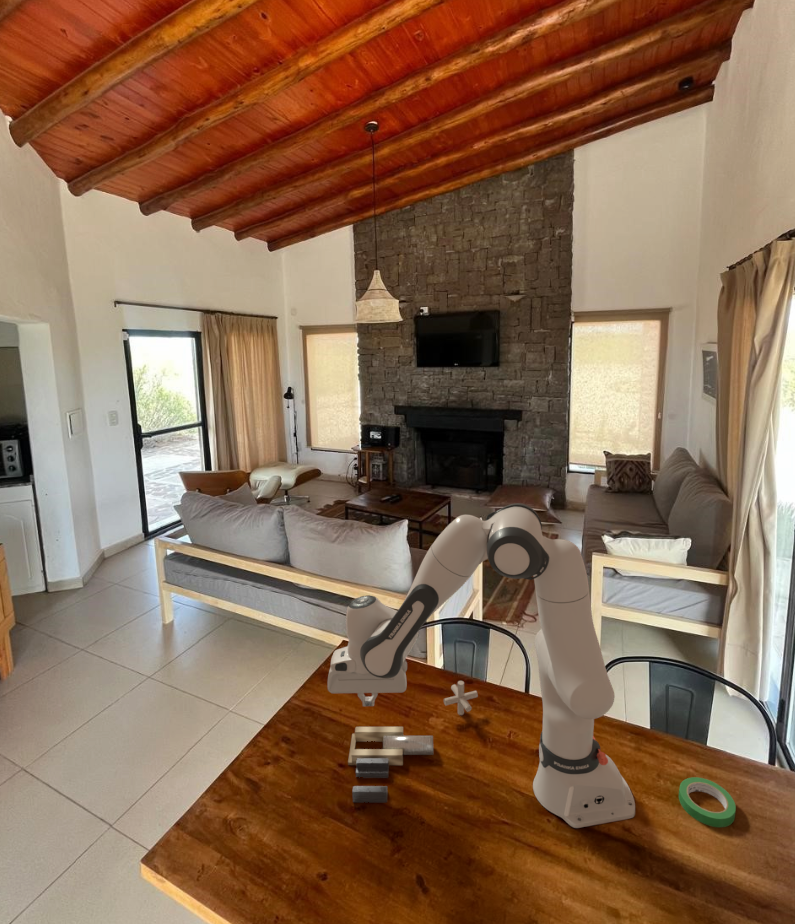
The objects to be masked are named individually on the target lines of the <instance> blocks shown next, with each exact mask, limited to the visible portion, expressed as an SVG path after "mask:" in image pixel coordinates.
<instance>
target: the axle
mask: <svg viewBox="0 0 795 924" xmlns="http://www.w3.org/2000/svg"><path fill="white" fill-rule="evenodd" d="M382 749H403V756H406V755H407V756H408V755H409V756H412V755H413V756H416V755H417V756H421V755H422V756H431V755H432V756H434V736H433V735H403V736H383V742H382Z"/></svg>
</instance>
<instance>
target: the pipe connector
mask: <svg viewBox="0 0 795 924" xmlns="http://www.w3.org/2000/svg"><path fill="white" fill-rule="evenodd" d="M450 689H451V691H452V693H453V694H454V695H453V696H450V697H445V698H443V704H444V705H445V706H449V705H453V704H457V714H458V715H459V716H463V715H464V714H465V711H466V712H467V713H468V712H471V710H472V706H471V704H470V703H469V700H472V699H475V698H478V697H479V695H478V694H479V693H478V691H477V690H473V691H469V692H465V682H464V681H463V680H458V681H457V684H455V683H454V684H452V685H451V687H450Z"/></svg>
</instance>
